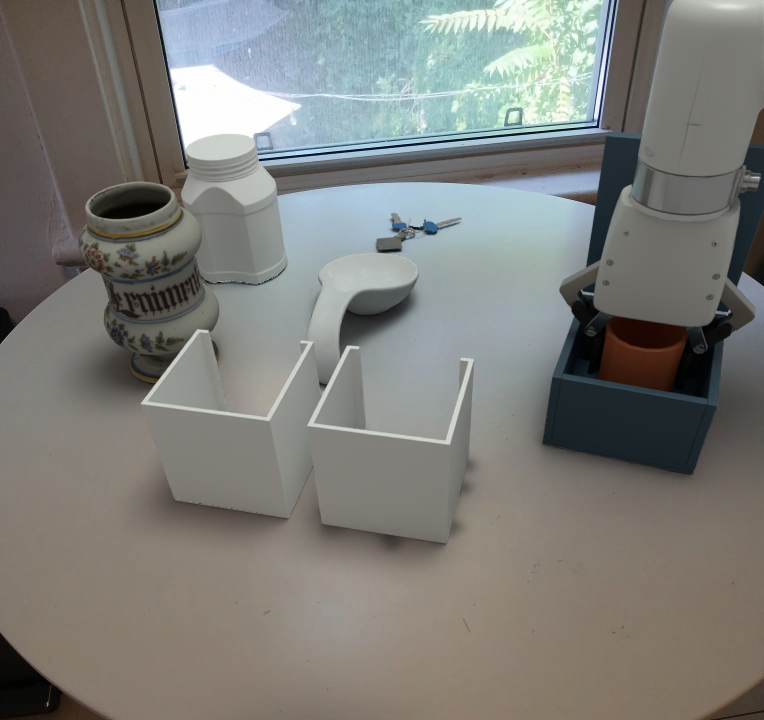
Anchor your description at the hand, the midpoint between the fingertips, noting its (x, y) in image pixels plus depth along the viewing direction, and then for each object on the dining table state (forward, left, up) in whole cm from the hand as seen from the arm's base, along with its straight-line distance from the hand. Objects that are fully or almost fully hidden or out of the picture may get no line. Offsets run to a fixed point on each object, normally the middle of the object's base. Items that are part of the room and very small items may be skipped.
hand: (635, 372), depth 69 cm
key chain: (-10, -45, -5) cm, 46 cm away
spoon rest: (+10, -30, -5) cm, 32 cm away
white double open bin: (+28, -12, -5) cm, 31 cm away
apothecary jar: (+29, -39, -5) cm, 49 cm away
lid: (-5, -3, +11) cm, 13 cm away
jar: (+12, -52, -5) cm, 54 cm away
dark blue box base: (0, 0, -5) cm, 5 cm away
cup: (0, 0, -3) cm, 3 cm away
